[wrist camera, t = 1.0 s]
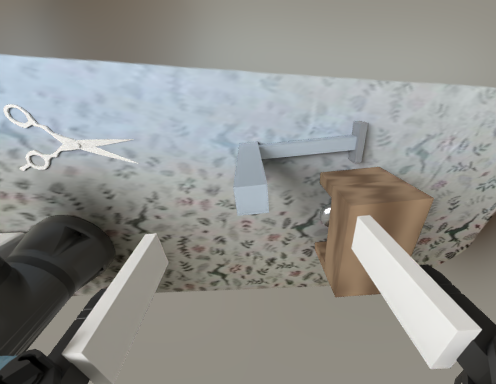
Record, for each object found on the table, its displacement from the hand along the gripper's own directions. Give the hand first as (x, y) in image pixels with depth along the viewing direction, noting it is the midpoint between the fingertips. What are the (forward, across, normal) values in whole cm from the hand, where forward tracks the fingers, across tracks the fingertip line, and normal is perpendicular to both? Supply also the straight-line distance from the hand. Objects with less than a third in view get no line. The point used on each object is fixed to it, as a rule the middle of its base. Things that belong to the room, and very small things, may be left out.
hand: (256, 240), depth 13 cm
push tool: (+21, +8, 0) cm, 23 cm away
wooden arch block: (+22, +17, -14) cm, 31 cm away
